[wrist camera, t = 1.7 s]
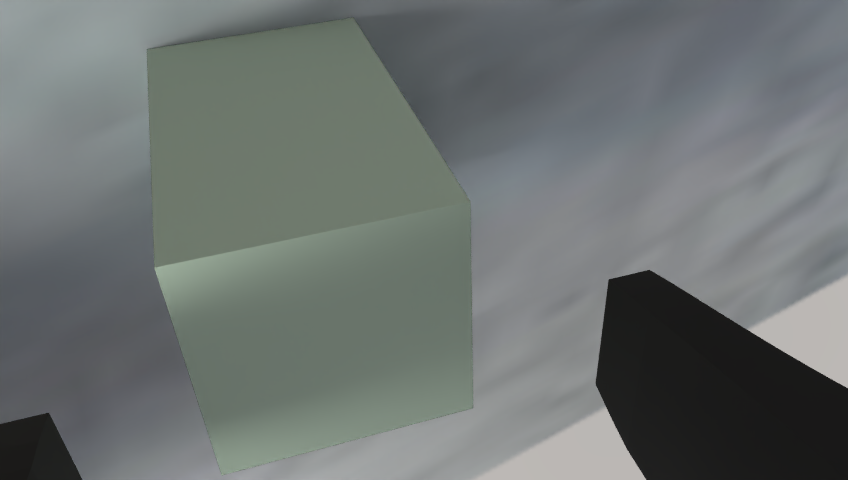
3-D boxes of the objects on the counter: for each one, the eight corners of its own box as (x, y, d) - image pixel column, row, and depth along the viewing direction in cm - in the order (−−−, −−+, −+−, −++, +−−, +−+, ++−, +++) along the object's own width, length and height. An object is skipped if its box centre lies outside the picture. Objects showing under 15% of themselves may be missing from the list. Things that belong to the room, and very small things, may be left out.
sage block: (370, 186, 18) (473, 408, 13) (193, 221, 17) (222, 475, 12) (353, 17, 16) (470, 201, 10) (146, 49, 15) (154, 267, 9)
